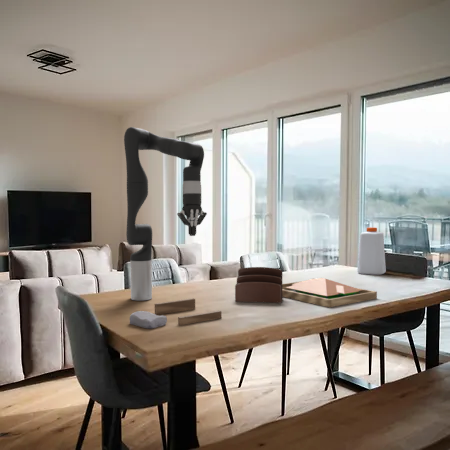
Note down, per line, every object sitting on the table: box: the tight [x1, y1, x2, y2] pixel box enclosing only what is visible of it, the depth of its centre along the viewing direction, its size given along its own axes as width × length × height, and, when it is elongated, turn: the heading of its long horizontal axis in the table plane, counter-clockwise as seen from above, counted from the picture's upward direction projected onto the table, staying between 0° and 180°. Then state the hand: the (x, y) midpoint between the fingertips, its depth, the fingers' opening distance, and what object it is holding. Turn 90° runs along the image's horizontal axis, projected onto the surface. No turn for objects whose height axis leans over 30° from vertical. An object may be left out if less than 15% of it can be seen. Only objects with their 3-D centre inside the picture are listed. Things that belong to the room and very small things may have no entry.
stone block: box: [129, 310, 168, 330], centre depth 154 cm, size 12×5×10 cm
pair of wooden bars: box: [154, 297, 222, 326], centre depth 164 cm, size 20×17×4 cm
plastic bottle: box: [356, 226, 387, 276], centre depth 271 cm, size 15×15×28 cm
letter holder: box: [234, 266, 284, 304], centre depth 193 cm, size 10×20×14 cm, turn 80°
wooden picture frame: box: [282, 280, 378, 308], centre depth 203 cm, size 40×30×3 cm
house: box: [285, 277, 362, 299], centre depth 204 cm, size 23×33×8 cm
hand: (192, 235), depth 179 cm, fingers closed
